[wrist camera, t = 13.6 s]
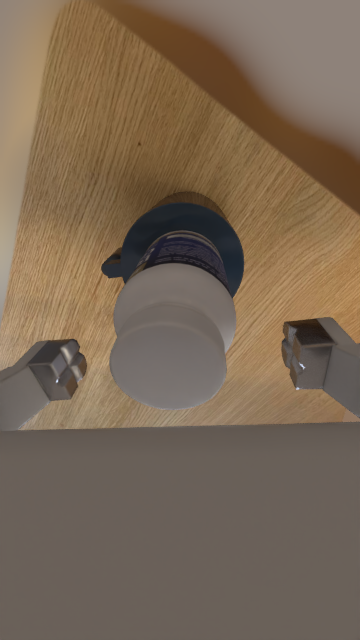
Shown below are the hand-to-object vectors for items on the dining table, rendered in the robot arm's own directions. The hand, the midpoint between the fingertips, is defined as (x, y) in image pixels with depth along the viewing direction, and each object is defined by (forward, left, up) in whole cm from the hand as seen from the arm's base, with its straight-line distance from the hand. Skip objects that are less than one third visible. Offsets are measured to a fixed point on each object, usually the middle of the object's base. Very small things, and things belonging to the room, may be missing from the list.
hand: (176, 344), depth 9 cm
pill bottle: (0, 0, -8) cm, 8 cm away
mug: (+1, 0, -17) cm, 17 cm away
